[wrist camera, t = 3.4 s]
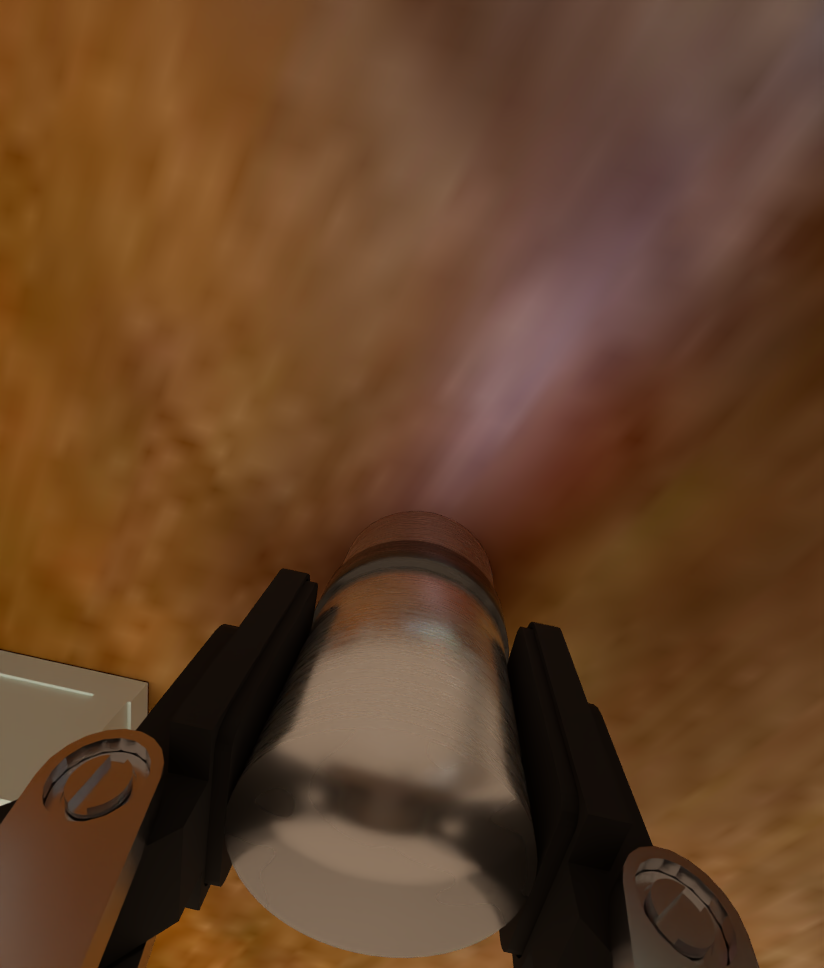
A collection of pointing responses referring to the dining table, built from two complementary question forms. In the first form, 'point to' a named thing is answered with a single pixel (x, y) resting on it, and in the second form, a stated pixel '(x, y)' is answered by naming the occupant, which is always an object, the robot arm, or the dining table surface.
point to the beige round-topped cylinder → (393, 757)
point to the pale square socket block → (56, 713)
